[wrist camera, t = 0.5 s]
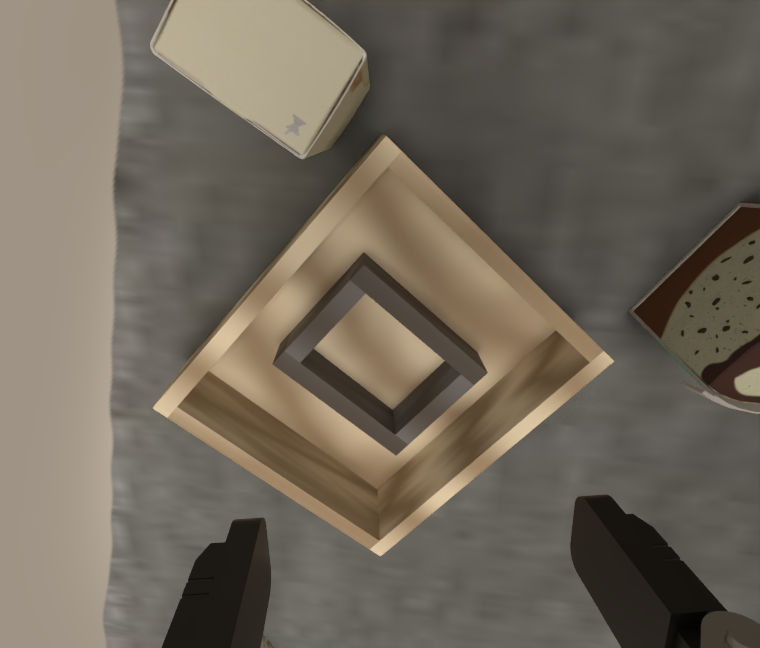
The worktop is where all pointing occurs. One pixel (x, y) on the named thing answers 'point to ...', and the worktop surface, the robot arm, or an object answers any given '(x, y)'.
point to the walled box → (381, 357)
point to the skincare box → (269, 65)
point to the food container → (714, 311)
